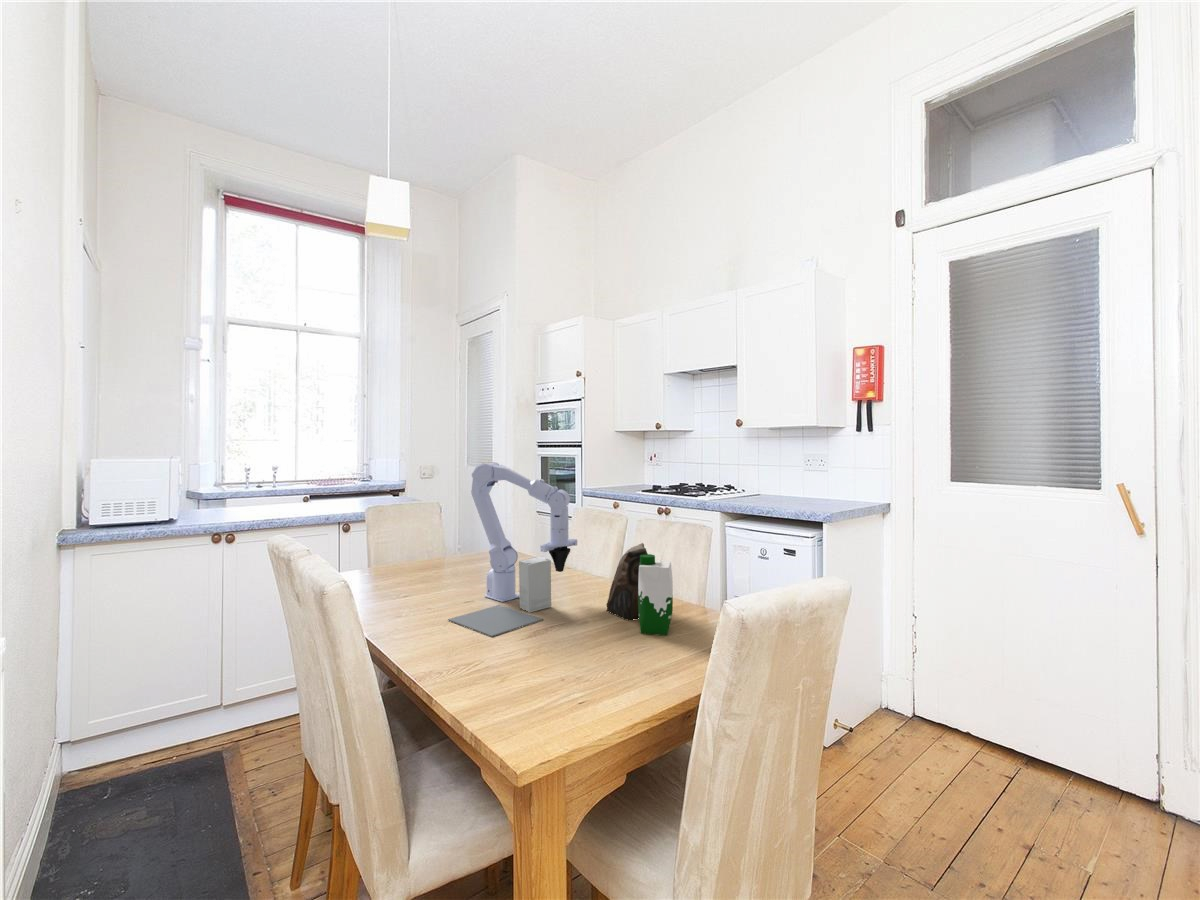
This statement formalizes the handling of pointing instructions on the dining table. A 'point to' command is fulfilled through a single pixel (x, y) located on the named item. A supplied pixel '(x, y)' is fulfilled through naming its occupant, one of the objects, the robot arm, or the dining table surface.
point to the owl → (626, 585)
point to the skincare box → (535, 584)
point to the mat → (495, 620)
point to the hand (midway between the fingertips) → (559, 571)
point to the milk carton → (655, 595)
